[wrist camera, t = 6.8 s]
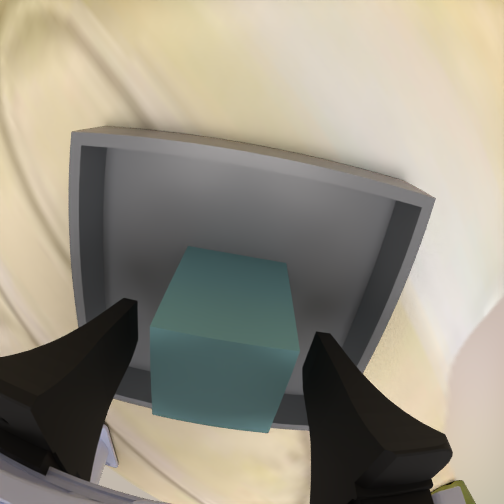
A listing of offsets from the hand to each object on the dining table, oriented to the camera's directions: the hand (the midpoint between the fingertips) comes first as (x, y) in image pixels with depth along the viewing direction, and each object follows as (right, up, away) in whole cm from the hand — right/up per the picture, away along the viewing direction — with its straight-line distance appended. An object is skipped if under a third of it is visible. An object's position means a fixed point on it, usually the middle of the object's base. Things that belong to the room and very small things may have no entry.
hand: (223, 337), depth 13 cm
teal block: (0, +1, +3) cm, 3 cm away
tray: (0, +2, +4) cm, 4 cm away
